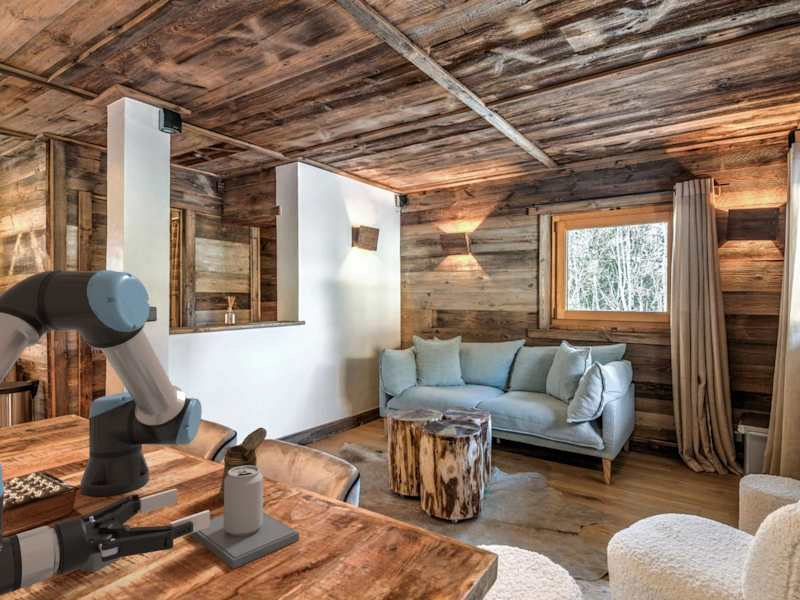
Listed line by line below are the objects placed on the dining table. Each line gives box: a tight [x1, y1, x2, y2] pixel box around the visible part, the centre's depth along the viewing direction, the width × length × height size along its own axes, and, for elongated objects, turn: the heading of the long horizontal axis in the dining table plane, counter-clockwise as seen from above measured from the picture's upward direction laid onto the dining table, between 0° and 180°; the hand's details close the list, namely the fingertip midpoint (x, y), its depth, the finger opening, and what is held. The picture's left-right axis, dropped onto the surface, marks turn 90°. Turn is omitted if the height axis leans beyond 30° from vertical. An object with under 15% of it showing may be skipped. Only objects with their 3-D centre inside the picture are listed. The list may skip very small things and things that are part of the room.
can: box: [223, 465, 264, 536], centre depth 95 cm, size 8×8×12 cm
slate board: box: [189, 511, 300, 570], centre depth 95 cm, size 18×14×2 cm
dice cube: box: [80, 553, 121, 574], centre depth 86 cm, size 5×5×5 cm
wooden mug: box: [218, 427, 268, 501], centre depth 115 cm, size 9×14×18 cm, turn 50°
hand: (192, 506), depth 88 cm, fingers open, 13 cm apart
